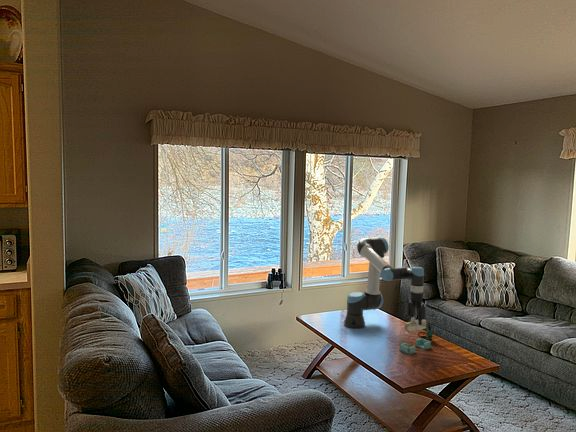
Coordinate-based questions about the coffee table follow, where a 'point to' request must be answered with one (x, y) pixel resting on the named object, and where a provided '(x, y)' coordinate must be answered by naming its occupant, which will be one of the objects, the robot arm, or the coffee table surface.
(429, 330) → the binoculars
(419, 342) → the cap
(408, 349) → the cap
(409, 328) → the beige long bar
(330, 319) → the coffee table surface
